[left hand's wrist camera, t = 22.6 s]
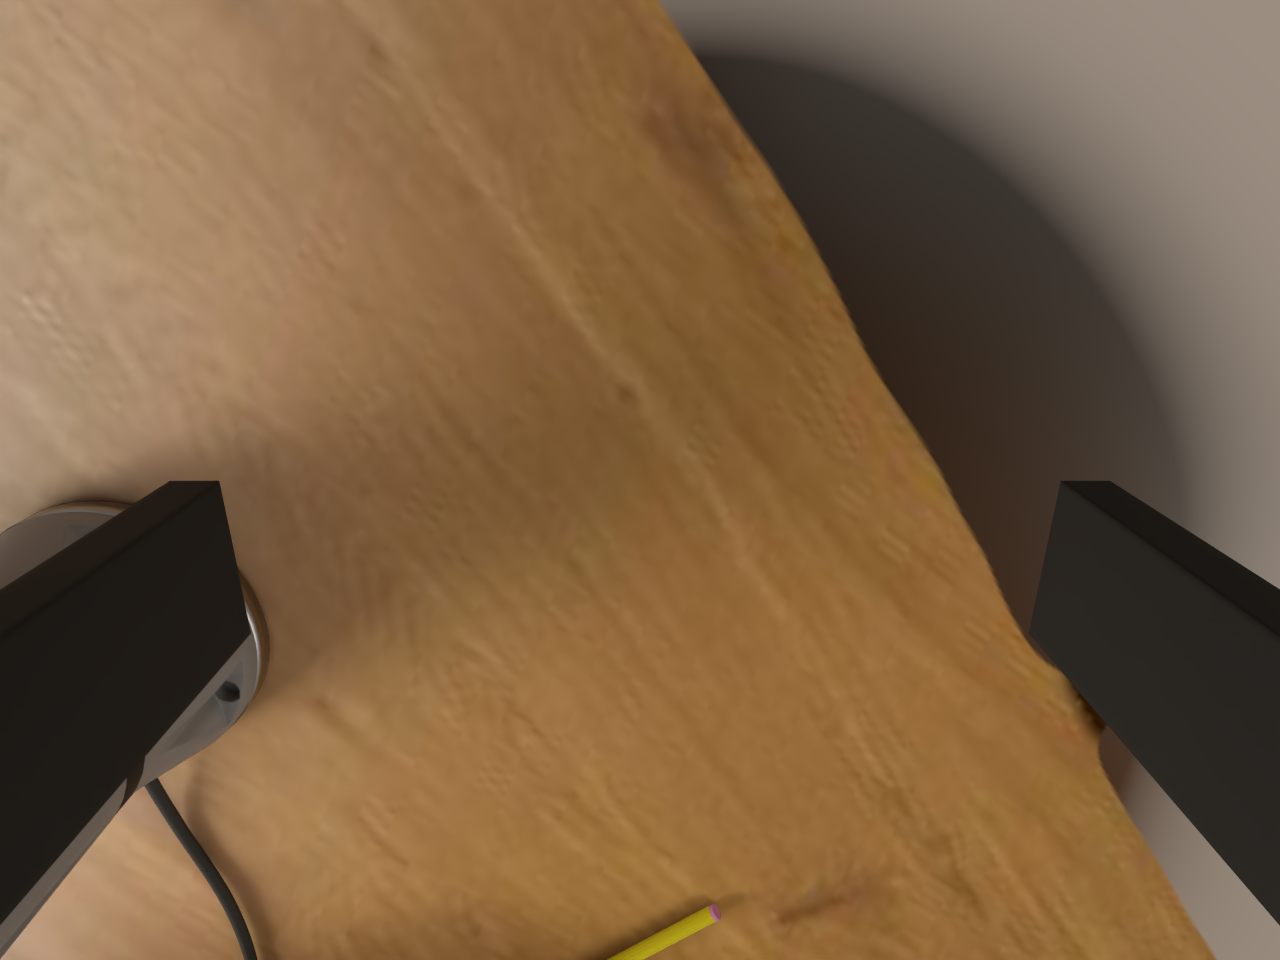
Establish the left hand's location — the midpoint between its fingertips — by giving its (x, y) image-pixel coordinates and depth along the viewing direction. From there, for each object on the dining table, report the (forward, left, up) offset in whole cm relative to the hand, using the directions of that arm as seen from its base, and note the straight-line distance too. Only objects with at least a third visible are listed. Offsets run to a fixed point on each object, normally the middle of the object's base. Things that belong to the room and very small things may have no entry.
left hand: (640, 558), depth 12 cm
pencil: (-38, +19, -26) cm, 50 cm away
